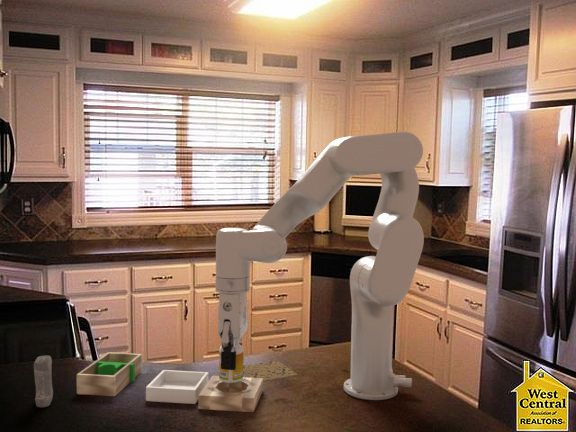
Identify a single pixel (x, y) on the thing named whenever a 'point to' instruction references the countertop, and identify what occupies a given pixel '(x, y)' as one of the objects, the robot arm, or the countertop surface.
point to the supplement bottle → (236, 374)
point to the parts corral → (107, 383)
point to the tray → (177, 386)
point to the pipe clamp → (114, 368)
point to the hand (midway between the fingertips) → (231, 363)
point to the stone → (43, 381)
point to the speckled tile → (268, 371)
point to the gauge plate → (231, 394)
